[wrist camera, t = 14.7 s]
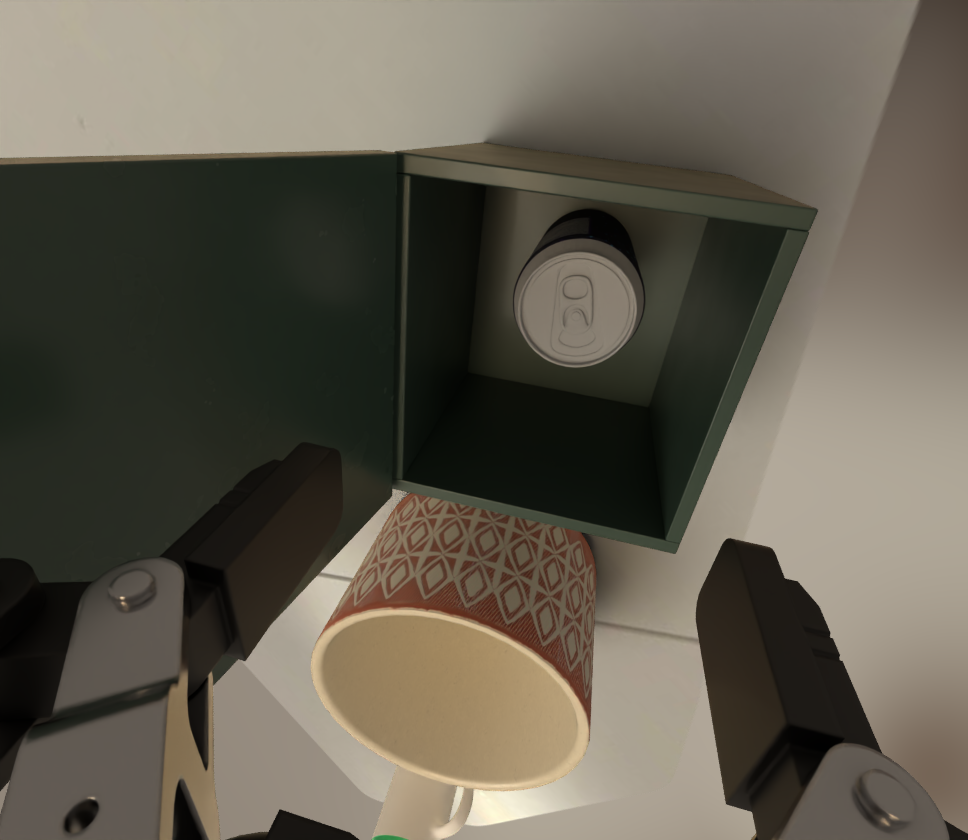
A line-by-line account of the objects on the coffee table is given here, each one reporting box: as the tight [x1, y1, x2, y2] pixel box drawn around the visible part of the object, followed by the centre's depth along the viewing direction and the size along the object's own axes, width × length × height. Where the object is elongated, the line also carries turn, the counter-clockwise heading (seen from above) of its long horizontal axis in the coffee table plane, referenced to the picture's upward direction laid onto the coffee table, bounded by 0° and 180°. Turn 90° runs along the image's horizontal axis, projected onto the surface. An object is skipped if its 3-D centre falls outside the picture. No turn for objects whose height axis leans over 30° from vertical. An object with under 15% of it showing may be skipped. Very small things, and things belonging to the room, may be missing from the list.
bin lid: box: [0, 150, 397, 685], centre depth 16 cm, size 15×15×1 cm
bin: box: [392, 143, 818, 554], centre depth 27 cm, size 14×15×14 cm
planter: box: [311, 493, 596, 791], centre depth 40 cm, size 19×19×15 cm
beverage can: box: [513, 209, 645, 367], centre depth 26 cm, size 6×6×12 cm
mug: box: [372, 765, 473, 840], centre depth 61 cm, size 12×8×10 cm
